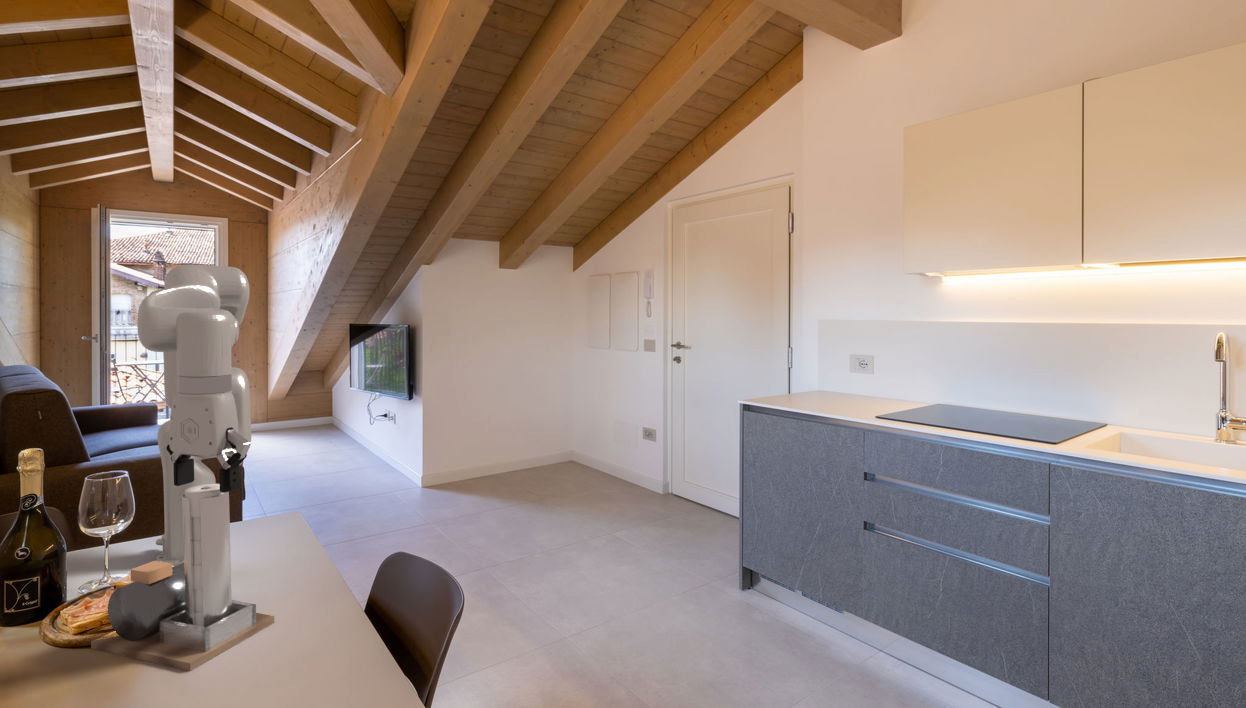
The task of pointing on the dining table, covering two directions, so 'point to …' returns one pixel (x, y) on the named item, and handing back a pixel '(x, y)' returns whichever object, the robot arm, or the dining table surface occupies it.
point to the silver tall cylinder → (206, 554)
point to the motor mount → (171, 621)
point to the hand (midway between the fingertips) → (206, 487)
